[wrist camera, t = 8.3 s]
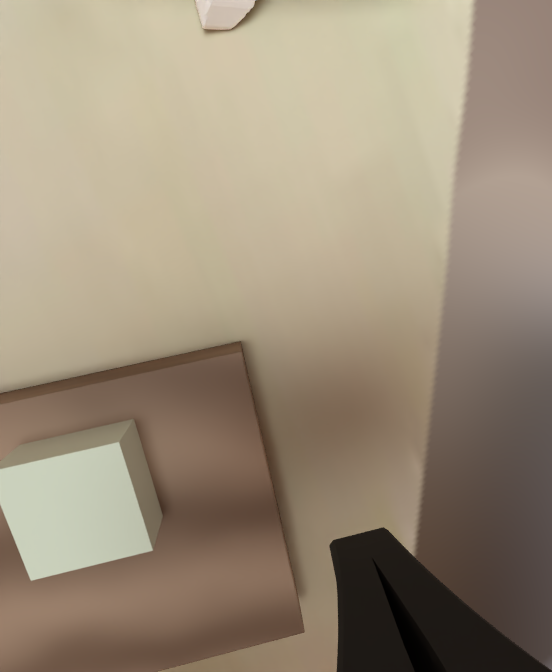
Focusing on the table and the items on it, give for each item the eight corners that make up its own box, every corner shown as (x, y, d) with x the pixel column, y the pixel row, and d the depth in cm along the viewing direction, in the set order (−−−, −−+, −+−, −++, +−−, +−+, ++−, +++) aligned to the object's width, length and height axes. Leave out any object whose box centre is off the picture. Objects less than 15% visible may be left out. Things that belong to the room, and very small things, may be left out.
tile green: (163, 515, 16) (152, 550, 14) (55, 541, 16) (30, 580, 14) (133, 418, 15) (118, 442, 13) (19, 444, 15) (-13, 472, 13)
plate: (298, 596, 20) (304, 632, 18) (27, 666, 19) (4, 712, 17) (240, 341, 17) (241, 351, 15) (-82, 411, 16) (-125, 432, 14)
